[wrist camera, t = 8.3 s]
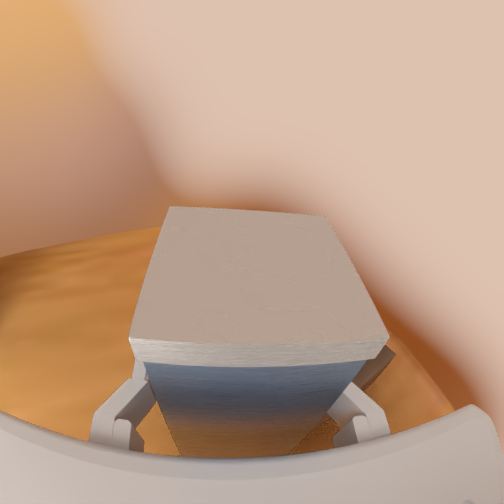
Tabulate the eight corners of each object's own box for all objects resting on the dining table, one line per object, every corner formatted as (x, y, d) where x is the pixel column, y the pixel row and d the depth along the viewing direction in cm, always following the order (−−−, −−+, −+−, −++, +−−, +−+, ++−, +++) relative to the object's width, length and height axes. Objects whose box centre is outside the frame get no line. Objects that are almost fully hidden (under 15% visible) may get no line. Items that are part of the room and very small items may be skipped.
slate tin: (183, 465, 11) (128, 337, 5) (186, 386, 16) (169, 206, 9) (281, 464, 12) (389, 337, 5) (270, 387, 16) (325, 216, 10)
